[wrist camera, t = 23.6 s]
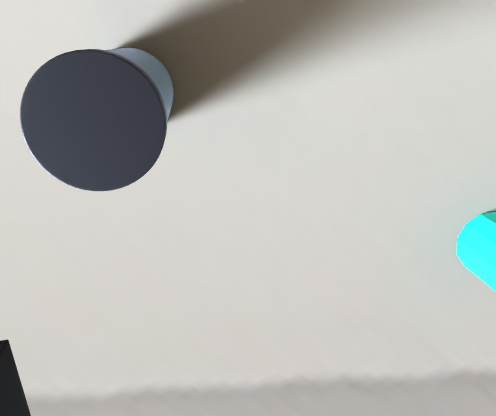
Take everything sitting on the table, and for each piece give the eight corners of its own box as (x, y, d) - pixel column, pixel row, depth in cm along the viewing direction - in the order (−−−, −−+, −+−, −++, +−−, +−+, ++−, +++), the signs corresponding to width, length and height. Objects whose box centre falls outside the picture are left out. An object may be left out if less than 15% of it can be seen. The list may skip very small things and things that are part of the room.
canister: (80, 124, 37) (12, 176, 23) (93, 35, 35) (27, 32, 21) (166, 143, 38) (152, 203, 24) (183, 58, 36) (178, 70, 22)
